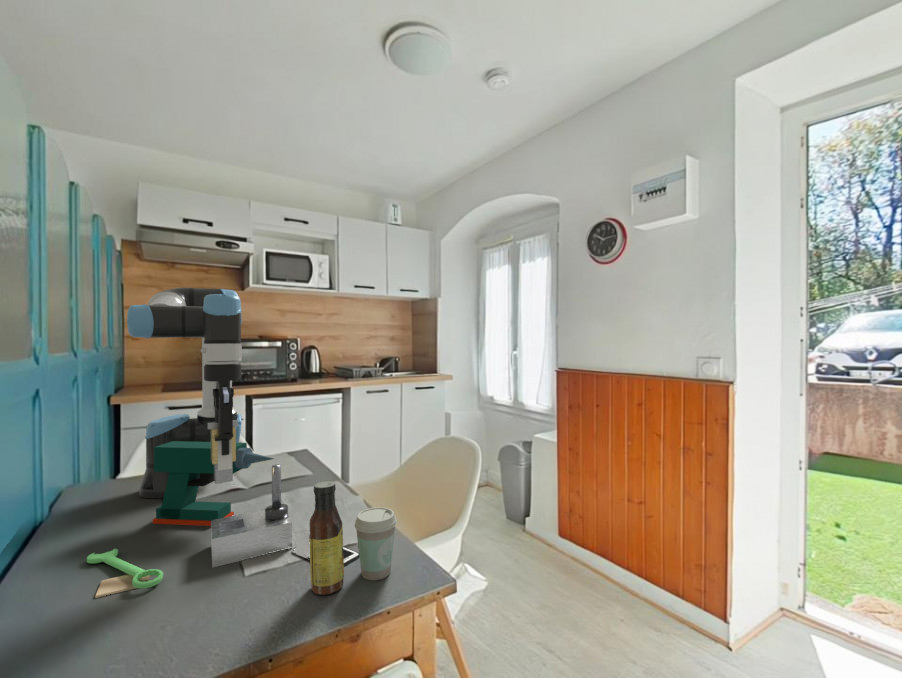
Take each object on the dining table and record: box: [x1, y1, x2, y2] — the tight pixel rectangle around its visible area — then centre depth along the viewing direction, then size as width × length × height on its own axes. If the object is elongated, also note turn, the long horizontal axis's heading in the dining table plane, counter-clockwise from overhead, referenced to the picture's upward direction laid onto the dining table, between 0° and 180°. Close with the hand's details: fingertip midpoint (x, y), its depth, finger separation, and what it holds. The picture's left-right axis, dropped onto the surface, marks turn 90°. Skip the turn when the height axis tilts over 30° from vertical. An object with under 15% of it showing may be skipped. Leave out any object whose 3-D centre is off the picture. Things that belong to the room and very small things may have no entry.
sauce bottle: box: [308, 480, 345, 596], centre depth 83 cm, size 7×6×20 cm
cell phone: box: [292, 546, 360, 567], centre depth 96 cm, size 8×15×1 cm, turn 55°
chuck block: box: [210, 463, 293, 568], centre depth 99 cm, size 11×16×18 cm
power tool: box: [152, 441, 275, 527], centre depth 114 cm, size 32×7×20 cm, turn 84°
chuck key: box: [208, 420, 238, 485], centre depth 97 cm, size 6×5×13 cm
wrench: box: [86, 548, 164, 589], centre depth 89 cm, size 25×2×5 cm
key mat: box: [94, 574, 151, 599], centre depth 84 cm, size 6×8×1 cm
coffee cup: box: [354, 506, 398, 581], centre depth 88 cm, size 8×8×12 cm
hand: (223, 466), depth 97 cm, fingers closed on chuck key, 5 cm apart
